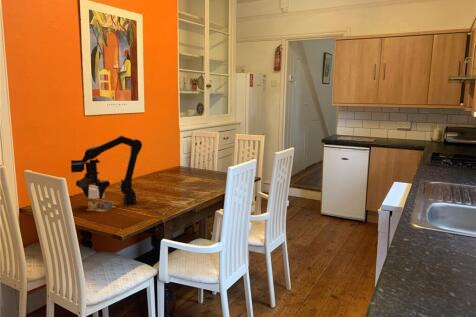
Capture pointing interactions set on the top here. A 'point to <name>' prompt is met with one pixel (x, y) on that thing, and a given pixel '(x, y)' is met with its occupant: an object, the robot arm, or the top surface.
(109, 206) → the grey gear
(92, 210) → the birch gear board
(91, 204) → the brass gear
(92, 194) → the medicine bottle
